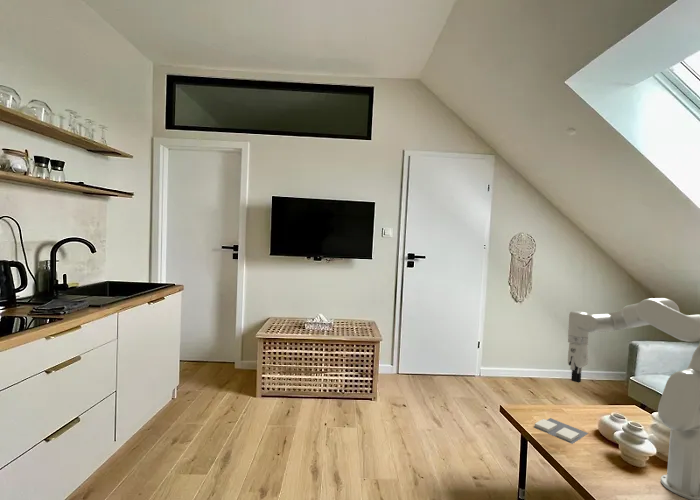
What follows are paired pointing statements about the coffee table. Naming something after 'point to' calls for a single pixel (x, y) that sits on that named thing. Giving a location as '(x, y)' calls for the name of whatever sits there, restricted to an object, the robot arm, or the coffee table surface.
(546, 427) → the tile
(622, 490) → the coffee table surface
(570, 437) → the tile
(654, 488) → the coffee table surface
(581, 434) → the mat
